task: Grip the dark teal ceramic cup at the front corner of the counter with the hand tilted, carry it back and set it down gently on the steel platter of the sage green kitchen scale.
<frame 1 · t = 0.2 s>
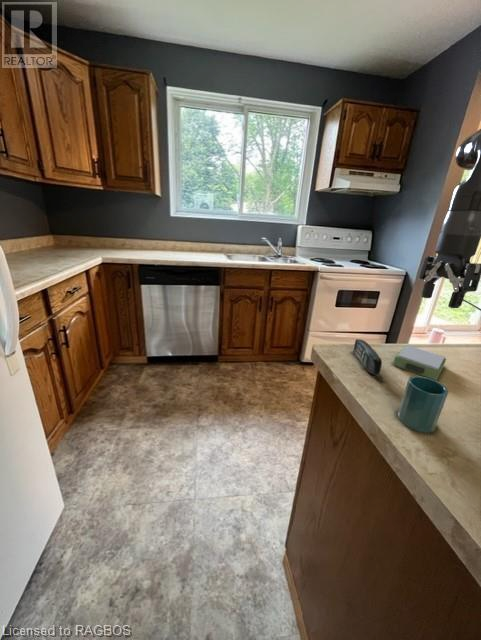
hand: (438, 302, 66), 18 cm above the countertop, tool pointing down, fingers open, 8 cm apart
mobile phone: (366, 366, 73), on the countertop
kitchen scale: (418, 365, 74), on the countertop
teal cup: (415, 420, 53), on the countertop
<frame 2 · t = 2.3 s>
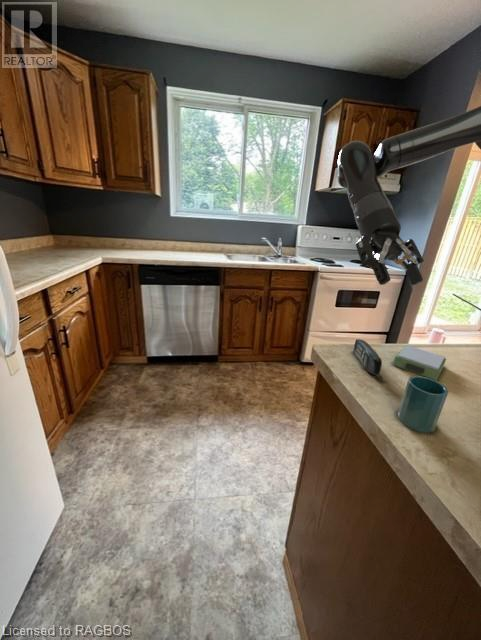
hand: (402, 283, 55), 25 cm above the countertop, tool tilted 45°, fingers open, 8 cm apart
nothing on the countertop moved.
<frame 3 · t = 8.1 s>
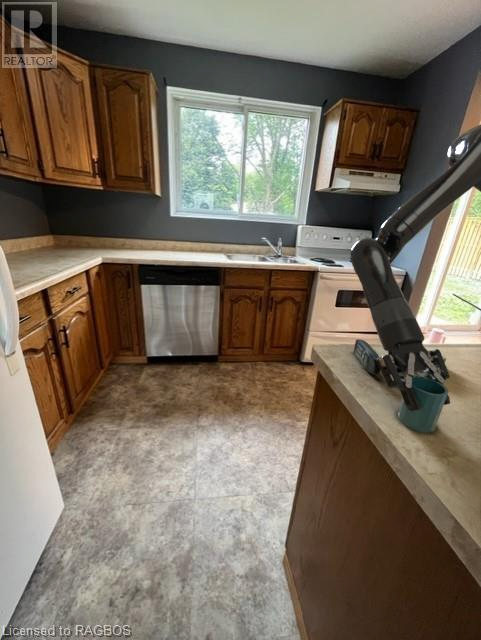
hand: (430, 407, 50), 5 cm above the countertop, tool tilted 45°, fingers closed on teal cup, 6 cm apart
teal cup: (415, 420, 53), on the countertop, touching gripper
everything else where it was.
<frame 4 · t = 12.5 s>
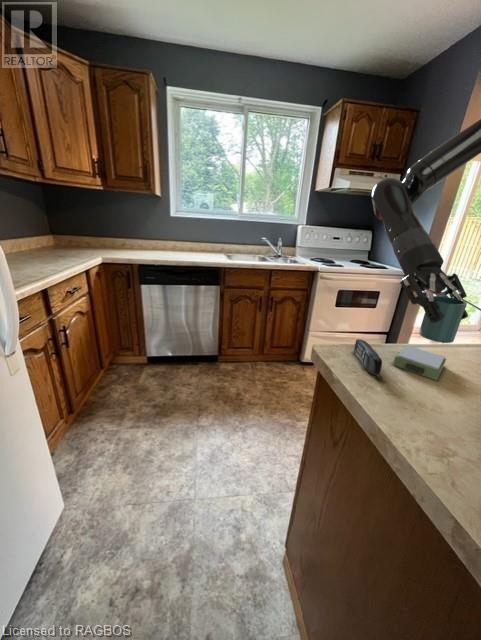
hand: (450, 319, 55), 18 cm above the countertop, tool tilted 45°, fingers closed on teal cup, 6 cm apart
teal cup: (435, 336, 58), point 14 cm above the countertop, touching gripper
everything else where it was.
when the fingers open (8 cm above the countertop, at t = 17.4 s): teal cup stays where it is, resting on kitchen scale.
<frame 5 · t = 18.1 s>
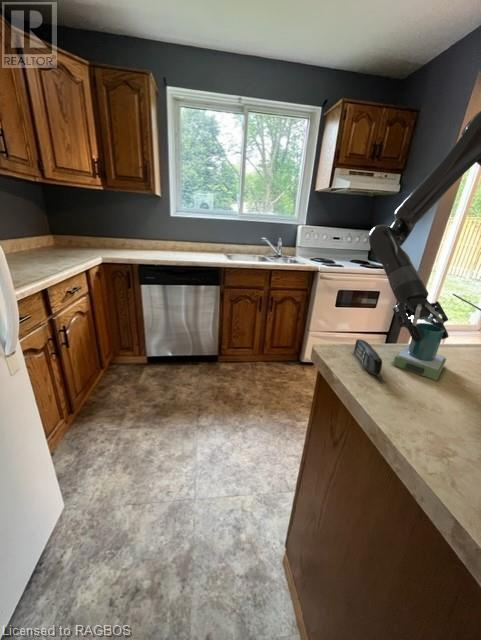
hand: (432, 339, 70), 8 cm above the countertop, tool tilted 45°, fingers open, 8 cm apart
teal cup: (421, 355, 73), point 3 cm above the countertop, touching kitchen scale
everything else where it was.
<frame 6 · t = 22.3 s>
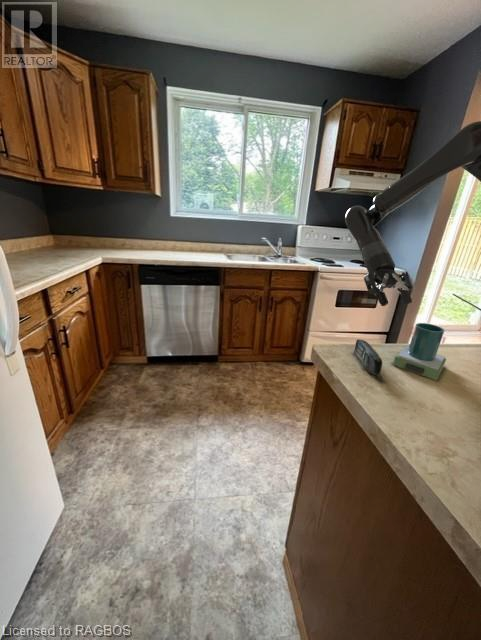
hand: (397, 304, 79), 14 cm above the countertop, tool tilted 45°, fingers open, 8 cm apart
nothing on the countertop moved.
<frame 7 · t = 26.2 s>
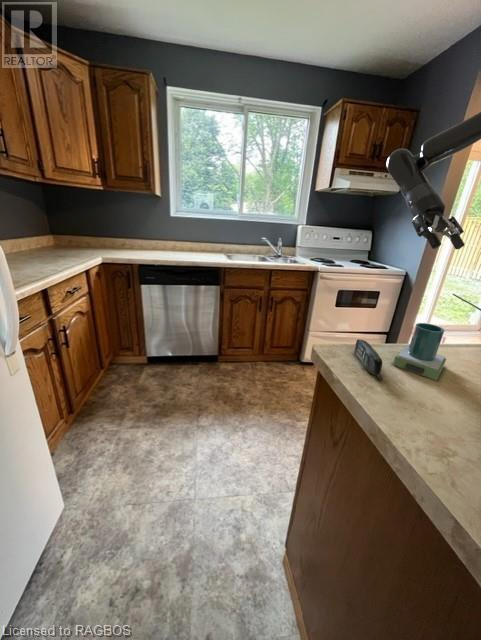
hand: (449, 247, 74), 31 cm above the countertop, tool tilted 45°, fingers open, 8 cm apart
nothing on the countertop moved.
at the end: teal cup inside the target area on the kitchen scale (0.1 cm from its centre), point 3.1 cm above the kitchen scale's base; teal cup tilted 0°; the gripper is holding nothing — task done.
